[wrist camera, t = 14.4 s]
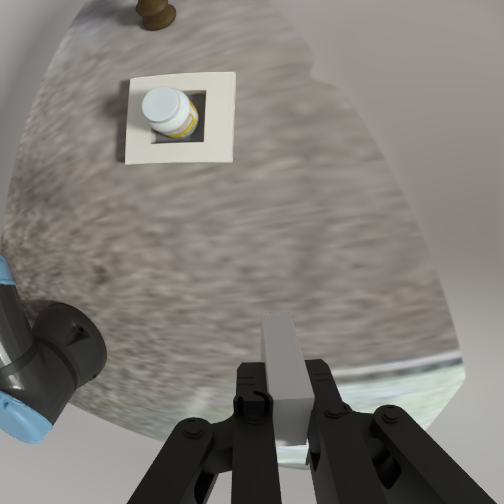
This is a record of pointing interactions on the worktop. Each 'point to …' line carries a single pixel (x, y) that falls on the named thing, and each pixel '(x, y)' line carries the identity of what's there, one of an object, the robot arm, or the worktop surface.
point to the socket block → (206, 133)
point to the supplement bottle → (170, 112)
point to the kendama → (156, 13)
